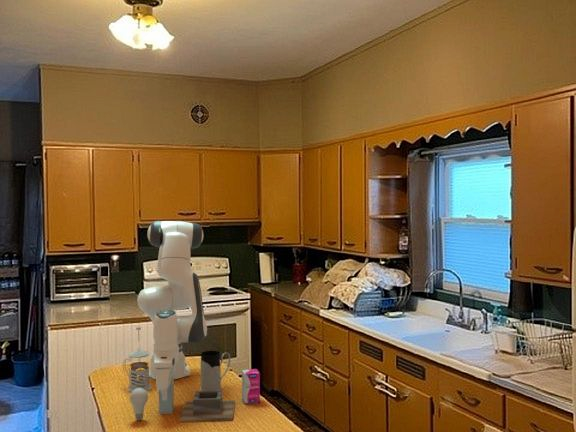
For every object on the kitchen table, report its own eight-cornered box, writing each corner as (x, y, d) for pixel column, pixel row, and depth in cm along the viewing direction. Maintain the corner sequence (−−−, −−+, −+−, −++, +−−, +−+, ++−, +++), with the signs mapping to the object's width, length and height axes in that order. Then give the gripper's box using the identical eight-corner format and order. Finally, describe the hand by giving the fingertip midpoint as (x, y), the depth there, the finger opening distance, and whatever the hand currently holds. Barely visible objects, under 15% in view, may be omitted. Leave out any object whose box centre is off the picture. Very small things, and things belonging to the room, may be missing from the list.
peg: (161, 409, 210) (160, 376, 210) (173, 409, 210) (173, 375, 210) (159, 413, 206) (158, 380, 205) (171, 413, 206) (171, 379, 206)
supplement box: (244, 405, 214) (244, 373, 214) (241, 399, 220) (241, 369, 219) (260, 403, 215) (260, 372, 215) (256, 398, 221) (256, 368, 221)
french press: (145, 392, 229) (144, 329, 229) (118, 391, 231) (117, 328, 231) (155, 385, 239) (155, 324, 238) (129, 383, 241) (128, 323, 241)
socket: (185, 404, 215) (185, 388, 215) (234, 402, 216) (234, 386, 216) (179, 422, 197) (179, 404, 197) (232, 420, 198) (232, 403, 198)
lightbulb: (150, 416, 203) (149, 385, 203) (146, 423, 197) (145, 390, 196) (132, 417, 203) (131, 385, 202) (128, 423, 196) (127, 391, 196)
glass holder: (195, 390, 231) (194, 353, 231) (223, 382, 241) (222, 346, 241) (208, 395, 225) (208, 357, 224) (237, 387, 235) (236, 350, 234)
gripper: (162, 350, 218) (162, 386, 218) (152, 364, 197) (153, 405, 197) (179, 349, 218) (179, 386, 218) (171, 363, 198) (171, 404, 198)
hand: (167, 395), depth 208 cm, fingers open, 8 cm apart
